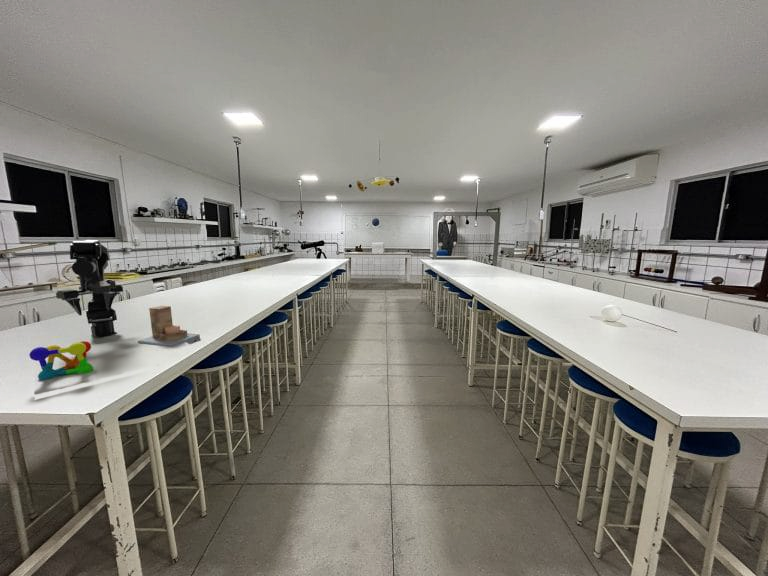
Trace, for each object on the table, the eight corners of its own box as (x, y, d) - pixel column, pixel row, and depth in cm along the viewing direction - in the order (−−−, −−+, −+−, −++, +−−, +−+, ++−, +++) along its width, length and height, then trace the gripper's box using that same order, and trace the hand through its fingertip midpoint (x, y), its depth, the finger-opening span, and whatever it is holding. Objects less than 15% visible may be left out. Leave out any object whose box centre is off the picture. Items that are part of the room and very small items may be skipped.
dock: (137, 345, 120) (137, 340, 120) (168, 335, 133) (167, 331, 132) (171, 349, 116) (171, 344, 116) (200, 338, 129) (199, 334, 128)
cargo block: (165, 336, 122) (164, 327, 122) (173, 333, 125) (172, 325, 125) (172, 336, 121) (171, 328, 121) (180, 334, 125) (179, 325, 124)
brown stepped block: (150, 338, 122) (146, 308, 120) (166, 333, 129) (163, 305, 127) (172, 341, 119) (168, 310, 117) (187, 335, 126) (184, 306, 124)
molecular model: (73, 367, 101) (102, 330, 101) (80, 391, 94) (111, 352, 95) (8, 361, 88) (42, 319, 89) (11, 388, 82) (47, 343, 83)
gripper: (70, 277, 106) (77, 320, 109) (129, 272, 124) (134, 309, 126) (51, 275, 110) (59, 317, 112) (112, 271, 127) (117, 307, 130)
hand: (95, 312), depth 120 cm, fingers open, 9 cm apart
